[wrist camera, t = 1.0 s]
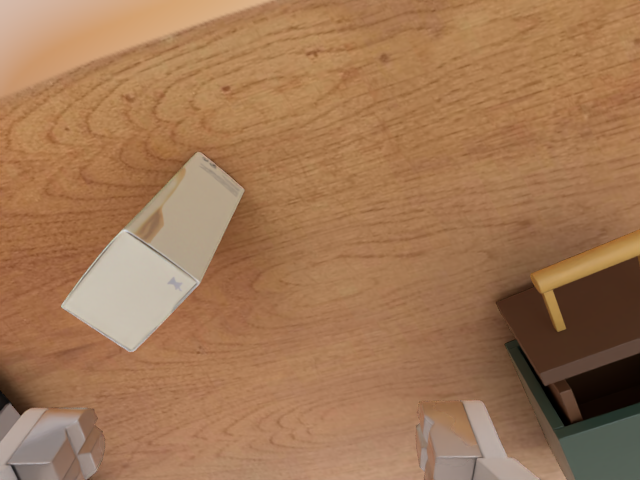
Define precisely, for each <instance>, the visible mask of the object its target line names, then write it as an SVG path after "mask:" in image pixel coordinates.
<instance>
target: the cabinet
mask: <svg viewBox="0 0 640 480" xmlns="http://www.w3.org/2000/svg"><path fill="white" fill-rule="evenodd" d="M505 346H506V349H507V351H508V353H509V356H510V358H511V360H512V362H513V365H514V367H515V369H516V372H517V374H518V376H519V378H520V381H521V383H522V385H523V388H524V390H525V392H526V394H527V397H528V399H529V401H530V404H531V406H532V408H533V410H534V413H535V415H536V417H537V420H538V422H539V424H540V426H541V429H542V431H543V433H544V436H545V438H546V440H547V442H548V445H549V447H550V449H551V451H552V453H553V455H554V456H555V458H556V460H557V462H558V464H559V466H560V468H561V470H562V471H563V473H564V475H565V477H566V479H567V480H640V402H639V403H636V404H633V405H630V406H627V407H624V408H621V409H618V410H614V411H611V412H608V413H605V414H602V415H599V416H596V417H593V418H590V419H587V420H584V421H581V422H577V423H574V424H571V425H568V426H564V424H563V423H562V421H561V419H560V418H559V416H558V414H557V413H556V411H555V409H554V408H553V406H552V404H551V403H550V401H549V399H548V398H547V396H546V394H545V393H544V391H543V389H542V387H541V385H540V382H539V380H538V377H537V375H536V373H535V370H534V368H533V366H532V364H531V363H530V361H529V359H528V358H527V356H526V354H525V353H524V351H523V350H522V348H521V346H520V345H519V343H518V341H517V340H513V341H511V342H508V343H505Z"/></svg>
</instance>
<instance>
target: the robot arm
mask: <svg viewBox="0 0 640 480" xmlns="http://www.w3.org/2000/svg"><path fill="white" fill-rule="evenodd" d="M417 413H418V418H419V422H420V423H419V424H418V425H417V426H416V449H417V456H418V461H419V466H420V468H421V469H422V470H423V471H424V472H425V474H424V480H541V479H539V478H538V477H537V476H536V475H534V474H533V473H532V472H531V471H530V470H528V469H527V468H526V467H525V466H524V465H522V464H521V463H520V462H519V461H518V460H516V459H515V458H508V457H507V455H506V453H505V450H504V448H503V446H502V443H501V441H500V439H499V437H498V434H497V432H496V430H495V427H494V425H493V423H492V420H491V418H490V416H489V414H488V411H487V409H486V407H485V404H484V403H483V402H482V401H481V400H460V401H458V400H457V401H423V402H419V405H418V412H417ZM97 419H98V418H97V415H96V413H95V410H94V409H91V408H30V409H29V410H27V411H25V412H24V413H23V414H22V415H21V417H20V418H19V419H18V420H17V422H16V423H15V424H14V425H13V427H12V428H11V429H10V431H9V432H8V433H7V434H6V436H5V437H4V438H3V439H2V441H1V442H0V480H87V479H88V478H89V477H91V476H92V475H93V474H94V473H96V472H97V470H98V468H99V466H100V464H101V462H102V460H103V455H104V451H105V438H104V435H103V432H102V431H101V430H100V429H99V428H97V427H96V426H95V425H94V424H95V423H96V421H97Z"/></svg>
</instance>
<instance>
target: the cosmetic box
mask: <svg viewBox="0 0 640 480" xmlns="http://www.w3.org/2000/svg"><path fill="white" fill-rule="evenodd" d="M244 191H245V190H244V188H243V187H241V186H240V185H239V184H238V183H237V182H236V181H235V180H234V179H232V178H231V177H230V176H229V175H228V174H227V173H225V172H224V171H223V170H222V169H221V168H220V167H218V166H217V165H216V164H215V163H214V162H212V161H211V160H210V159H208V158H207V157H206V156H205V155H203V154H202V153H201V152H196V153H195V154H194V155H193V156H192V157H191V158H190V159H189V160H188V161H187V162H186V164H185V165H184V166H183V167H182V168H181V169H180V170H179V171H178V172H177V173H176V174H175V175H174V176H173V177H172V178H171V180H170V181H169V182H168V183H167V184H166V185H165V186H164V187H163V188H162V189H161V190H160V191H159V192H158V193H157V194H156V195H155V196H154V197H153V198H152V199H151V200H150V202H149V203H148V204H147V205H146V206H145V207H144V208H143V209H142V210H141V211H140V212H139V213H138V214H137V215H136V216H135V217H134V218H133V219H132V220H131V221H130V222H129V223H128V224H127V225H126V226H125V227H124V228H123V229H122V230H121V231H120V232H119V233H118V234H117V235H116V236H115V237H114V239H113V240H112V241H111V242H110V243H109V244H108V245H107V246H106V247H105V249H104V250H103V251H102V252H101V253H100V255H99V256H98V257H97V258H96V259H95V261H94V262H93V263H92V264H91V266H90V267H89V268H88V270H87V271H86V272H85V273H84V275H83V276H82V277H81V279H80V280H79V281H78V283H77V284H76V285H75V287H74V288H73V289H72V291H71V292H70V293H69V295H68V296H67V298H66V299H65V300H64V302H63V303H62V305H61V307H62V308H63V309H64V310H66V311H67V312H69V313H71V314H72V315H74V316H75V317H77V318H78V319H80V320H81V321H83V322H84V323H86V324H87V325H89V326H90V327H92V328H93V329H95V330H96V331H98V332H100V333H101V334H103V335H104V336H105V337H107V338H109V339H110V340H112V341H113V342H115V343H116V344H118V345H120V346H121V347H123V348H124V349H126V350H127V351H129V352H132V351H135V350H136V349H137V348H138V347H139V346H140V345H141V344H142V343H143V342H144V341H145V340H146V339H147V338H148V337H149V336H150V335H151V334H152V333H153V332H154V331H155V330H156V329H157V328H158V327H159V326H160V325H161V324H162V323H163V322H164V321H165V320H166V319H167V318H168V317H169V316H170V314H171V313H172V312H173V311H174V310H175V309H176V308H177V307H178V306H179V305H180V304H181V303H182V302H183V301H184V300H185V299H186V298H187V297H188V296H189V295H190V294H191V292H192V291H193V290H194V289H195V288H196V287H197V286H198V285H199V284H200V282H201V280H202V278H203V276H204V274H205V272H206V270H207V268H208V266H209V264H210V262H211V260H212V258H213V256H214V253H215V251H216V249H217V247H218V245H219V243H220V241H221V239H222V237H223V235H224V232H225V230H226V228H227V226H228V224H229V222H230V220H231V218H232V216H233V214H234V212H235V210H236V208H237V206H238V204H239V202H240V199H241V197H242V195H243V193H244Z"/></svg>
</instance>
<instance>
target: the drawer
mask: <svg viewBox="0 0 640 480" xmlns="http://www.w3.org/2000/svg"><path fill="white" fill-rule="evenodd" d="M530 276H531V280H532V282H533V284H534V286H535V287H533V288H530V289H528V290H525V291H523V292H520V293H518V294H515V295H513V296H510V297H508V298H505V299H503V300H500V301H498V302H496V304H497V306H498V309H499V311H500V313H501V315H502V317H503V318H504V320H505V322H506V323H507V325H508V327H509V328H510V330H511V331H512V333H513V335H514V336H515V338H516V340H517V341H518V343H519V345H520V346H521V348H522V350H523V351H524V353H525V354H526V356H527V358H528V359H529V361H530V363H531V364H532V366H533V368H534V370H535V373H536V375H537V377H538V380H539V382H540V385H541V387H542V389H543V391H544V393H545V394H546V396H547V398H548V399H549V401H550V403H551V404H552V406H553V408H554V409H555V411H556V413H557V414H558V416H559V418H560V419H561V421H562V423H563V424H564V426H568V425H571V424H574V423H577V422H581V421H584V420H587V419H590V418H593V417H596V416H599V415H602V414H605V413H608V412H611V411H614V410H618V409H621V408H624V407H627V406H630V405H633V404H636V403H639V402H640V229H639V230H637V231H634V232H632V233H629V234H627V235H624V236H622V237H620V238H617V239H615V240H612V241H610V242H607V243H605V244H602V245H600V246H597V247H595V248H593V249H590V250H588V251H585V252H583V253H580V254H578V255H575V256H573V257H570V258H568V259H565V260H563V261H561V262H558V263H556V264H553V265H551V266H548V267H546V268H543V269H541V270H538V271H536V272H534V273H531V274H530Z"/></svg>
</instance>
